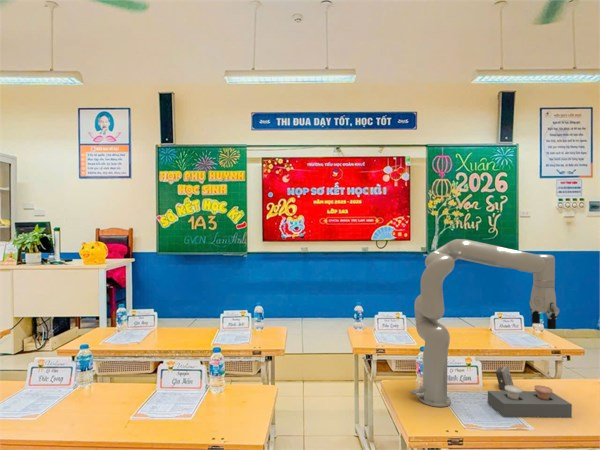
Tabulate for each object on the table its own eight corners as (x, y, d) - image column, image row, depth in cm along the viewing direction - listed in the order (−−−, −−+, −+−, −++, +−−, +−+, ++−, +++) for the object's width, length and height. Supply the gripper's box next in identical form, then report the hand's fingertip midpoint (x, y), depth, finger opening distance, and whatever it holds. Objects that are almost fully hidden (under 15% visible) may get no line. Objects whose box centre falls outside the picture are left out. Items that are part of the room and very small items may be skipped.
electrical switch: (509, 392, 172) (507, 370, 173) (496, 390, 175) (494, 369, 176) (513, 386, 179) (511, 365, 180) (501, 384, 182) (499, 364, 183)
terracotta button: (540, 404, 152) (540, 391, 152) (531, 397, 158) (531, 385, 158) (555, 404, 152) (556, 391, 152) (545, 398, 158) (545, 385, 158)
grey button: (509, 404, 152) (510, 391, 152) (501, 397, 158) (501, 385, 158) (525, 404, 152) (525, 391, 152) (516, 397, 158) (516, 385, 158)
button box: (503, 417, 149) (503, 403, 149) (487, 403, 161) (487, 390, 161) (571, 417, 149) (571, 404, 149) (550, 403, 161) (550, 391, 161)
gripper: (522, 281, 172) (521, 321, 172) (549, 287, 155) (548, 331, 155) (539, 281, 173) (538, 321, 173) (567, 287, 155) (567, 331, 155)
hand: (543, 325), depth 164 cm, fingers open, 9 cm apart
